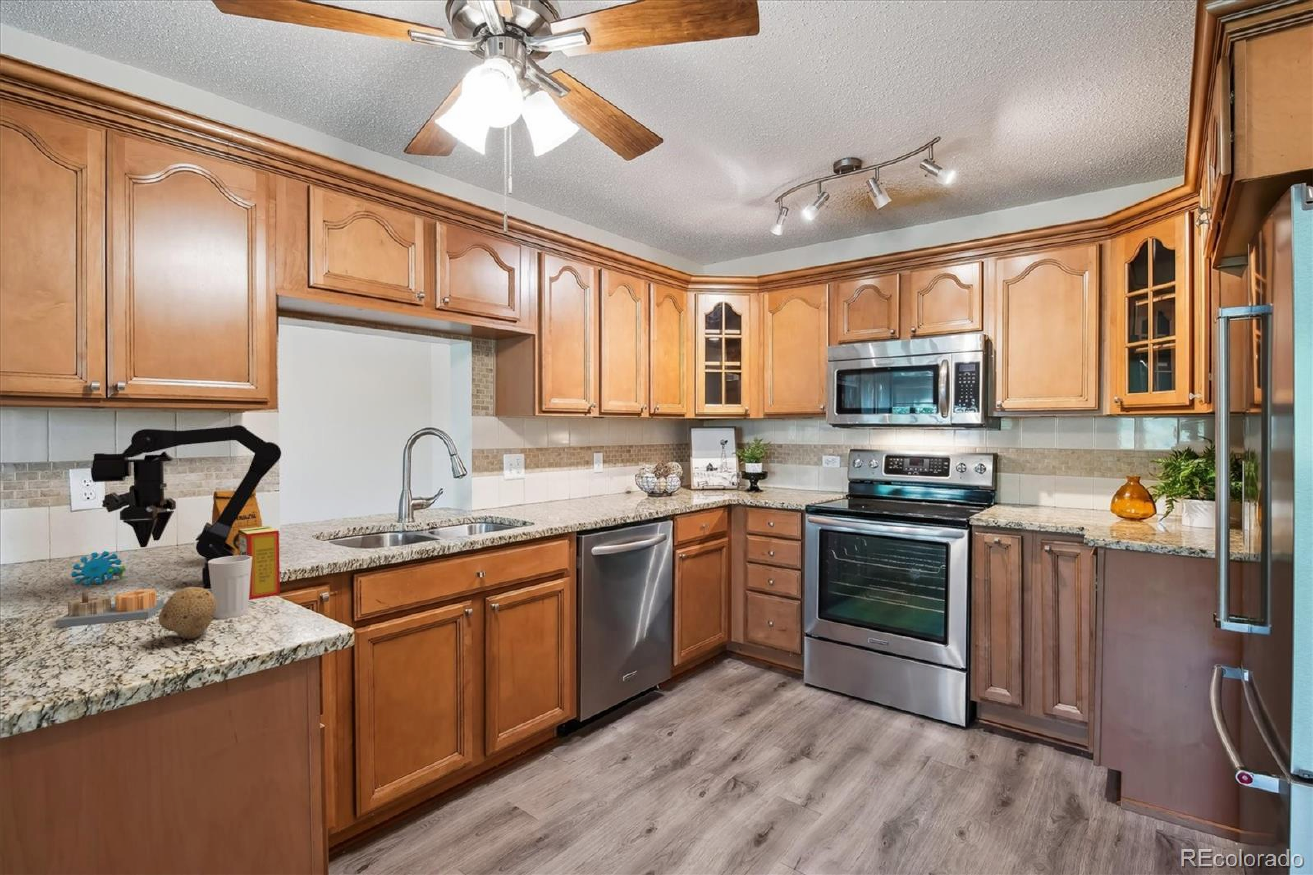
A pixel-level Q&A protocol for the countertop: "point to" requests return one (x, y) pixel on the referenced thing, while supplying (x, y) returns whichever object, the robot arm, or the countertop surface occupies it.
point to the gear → (98, 568)
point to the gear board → (110, 616)
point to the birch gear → (89, 605)
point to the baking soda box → (261, 559)
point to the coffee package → (244, 520)
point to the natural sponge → (188, 612)
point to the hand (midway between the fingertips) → (150, 543)
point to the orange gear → (135, 600)
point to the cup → (230, 585)
